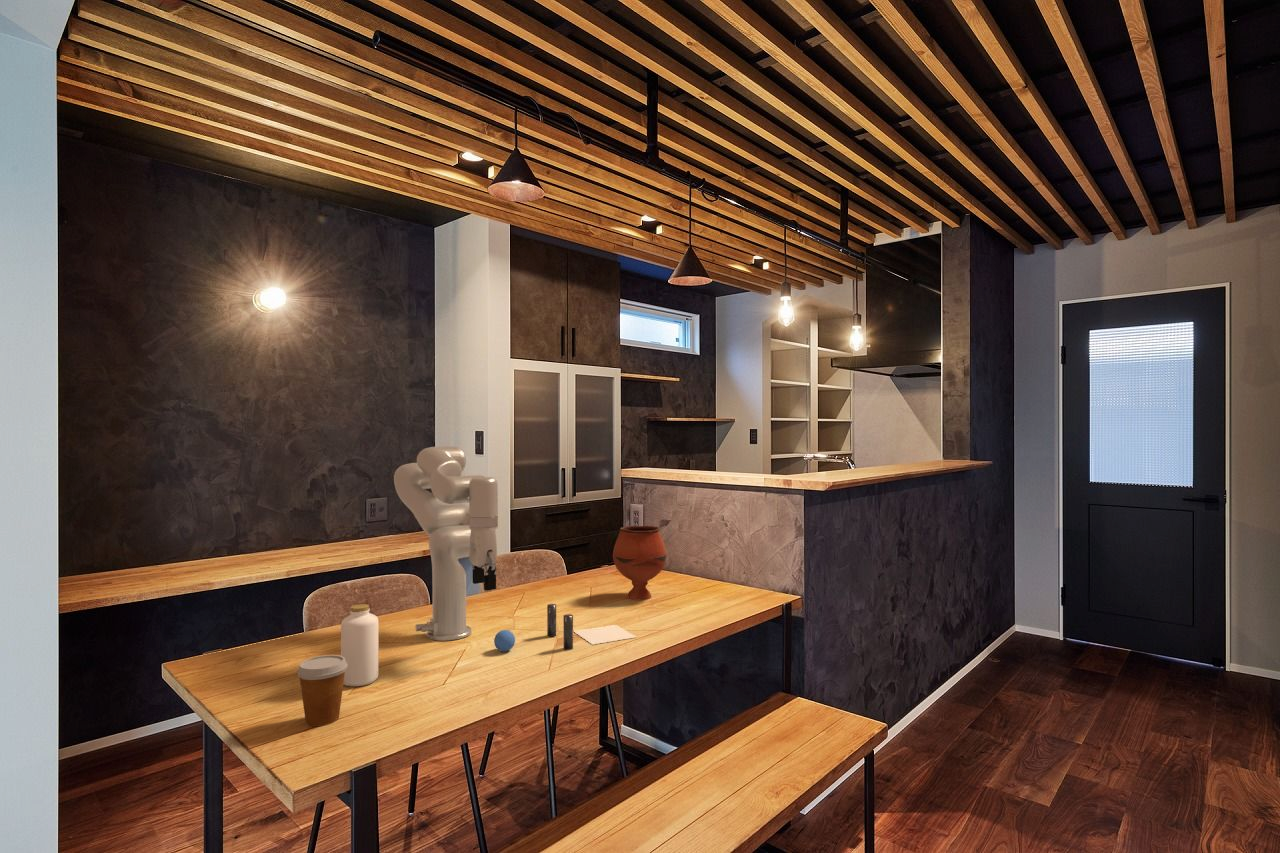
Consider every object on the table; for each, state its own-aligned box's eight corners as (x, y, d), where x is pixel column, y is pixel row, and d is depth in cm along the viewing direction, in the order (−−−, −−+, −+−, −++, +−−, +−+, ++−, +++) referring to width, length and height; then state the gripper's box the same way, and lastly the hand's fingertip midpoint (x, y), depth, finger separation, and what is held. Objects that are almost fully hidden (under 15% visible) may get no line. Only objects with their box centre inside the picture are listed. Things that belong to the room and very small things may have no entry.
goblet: (676, 595, 243) (676, 526, 243) (647, 606, 227) (647, 533, 227) (632, 588, 253) (632, 522, 253) (602, 599, 237) (602, 528, 237)
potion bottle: (367, 672, 165) (367, 600, 165) (385, 680, 160) (385, 605, 160) (334, 682, 159) (334, 606, 159) (351, 691, 154) (351, 612, 154)
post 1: (549, 637, 193) (549, 606, 193) (546, 635, 195) (546, 604, 195) (557, 636, 194) (557, 605, 194) (554, 634, 196) (554, 603, 196)
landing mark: (592, 645, 186) (592, 644, 186) (573, 631, 198) (573, 631, 198) (636, 637, 193) (636, 636, 193) (615, 625, 205) (615, 624, 205)
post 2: (565, 650, 182) (565, 617, 182) (562, 647, 184) (562, 615, 184) (574, 649, 183) (574, 616, 183) (570, 646, 185) (570, 613, 185)
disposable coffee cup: (321, 733, 132) (321, 672, 132) (286, 725, 136) (286, 666, 136) (357, 714, 141) (357, 657, 141) (323, 707, 145) (323, 651, 145)
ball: (497, 655, 178) (497, 634, 178) (491, 649, 183) (491, 629, 183) (517, 652, 180) (517, 631, 180) (511, 646, 185) (511, 626, 185)
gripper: (460, 520, 186) (461, 582, 186) (480, 527, 171) (480, 594, 171) (486, 518, 190) (487, 579, 190) (508, 525, 175) (508, 590, 175)
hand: (484, 586), depth 181 cm, fingers open, 9 cm apart
